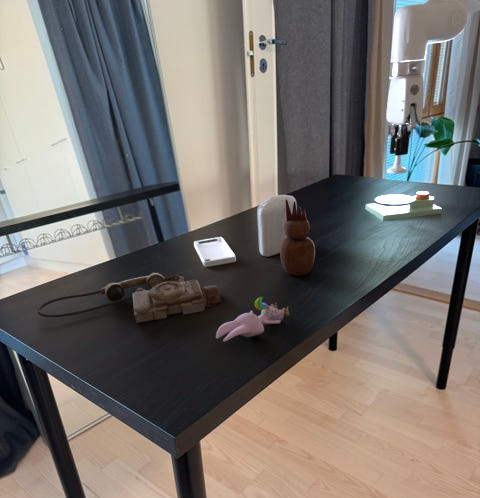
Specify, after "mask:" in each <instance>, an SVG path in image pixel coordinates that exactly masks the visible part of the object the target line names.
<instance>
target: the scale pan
mask: <svg viewBox="0 0 480 498" xmlns="http://www.w3.org/2000/svg"><path fill="white" fill-rule="evenodd" d="M413 202H414V198H413V197H412V196H410V195H406V194H384V195H380V196H377V197H375V198H374V203H376V204H378V205H382V206H391V207H396V206H406V205H410V204H412V203H413Z"/></svg>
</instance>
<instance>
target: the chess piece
mask: <svg viewBox="0 0 480 498" xmlns="http://www.w3.org/2000/svg"><path fill="white" fill-rule="evenodd" d="M397 135H398V133H397ZM394 150H395V149H394ZM401 156H402V155H398V156H396V155H395V157H394V161H393V164H392V166H390V167H388V168H387V169H386V173H387V174H391V175H399V174H400V175H401V174H406V173H407V171H408V168H407V167H405V166H403V165H402V159H401Z"/></svg>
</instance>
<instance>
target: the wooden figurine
mask: <svg viewBox="0 0 480 498" xmlns="http://www.w3.org/2000/svg"><path fill="white" fill-rule="evenodd" d="M296 203H297V202H296ZM296 203H295V201H294V204H293V212H292V213H291V210H290V207H289V204H288V201H287V199H286V218H287V221H286V222H285V225H284V231H285V235H286V236H287V237H285V238H284V239H283V240H282V242H281V247H280V253H279V255H280V256H279V257H280V262H281V265H282V268H283V269H284V271H285V272H286V273H287V274H288V275H292V276H295V277H296V276H297V277H301V276H306V275H307V274H309V272H311V270H312V267H313V265H314V262H315V258H316V246H315V243H314V241H313V240H312V239H311V238H310V237H309V234H310V231H311V226H310V222H309V220H307V213H306V210H302V208H301V206H299V207H298V208H297V209H296Z"/></svg>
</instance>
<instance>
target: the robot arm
mask: <svg viewBox="0 0 480 498" xmlns="http://www.w3.org/2000/svg"><path fill="white" fill-rule="evenodd" d="M479 11H480V0H427V1H425V3H417V4H409V5H404V6H401V7H399V8H398V9H397V10H396V11H395V13H394V17H393V26H392V28H393V29H392V41H391V52H390V53H391V54H390V63H389V64H390V65H389V76H388V77H389V78H388V79H389V80H390V83H389V88H388V96H387V102H386V104H387V105H386V117H385V119H386V121H387V124H388V126H389V128H390V145H389V146H390V147H389V154H390V155H394V156H395V157H396V156H398V155H401V156H406V155H408V153H409V147H410V138H411V137H412V132H413V131H414V130H415V129H416V128H417V124H419V123H421V122H422V119H423V110H424V109H423V108H424V97H425V96H424V94H425V93H424V90H425V89H424V87H425V86H424V83H425V82H424V73H425V63H426V55H427V47H428V44H429V45H430V44H438V43H444V42H448V41H451V40H454V39H455V38H457V37H458V36H459V35H461V33H462V32H463V31H464V30H465V28H466V26H467V24H468V23H469V16H470V14H473V13H476V12H479ZM397 133H398V135H397ZM394 149H395V150H394Z"/></svg>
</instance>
